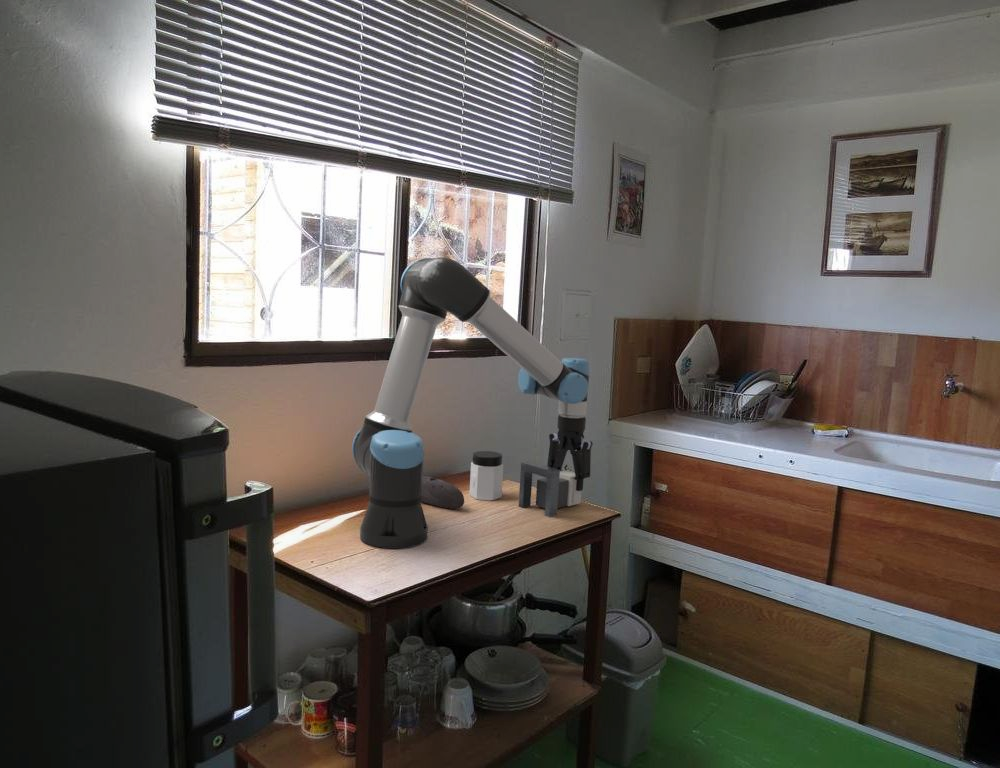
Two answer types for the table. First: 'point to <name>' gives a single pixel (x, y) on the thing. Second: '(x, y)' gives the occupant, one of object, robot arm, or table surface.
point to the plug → (563, 493)
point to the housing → (551, 490)
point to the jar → (486, 475)
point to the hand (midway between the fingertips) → (566, 498)
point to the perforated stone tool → (441, 493)
